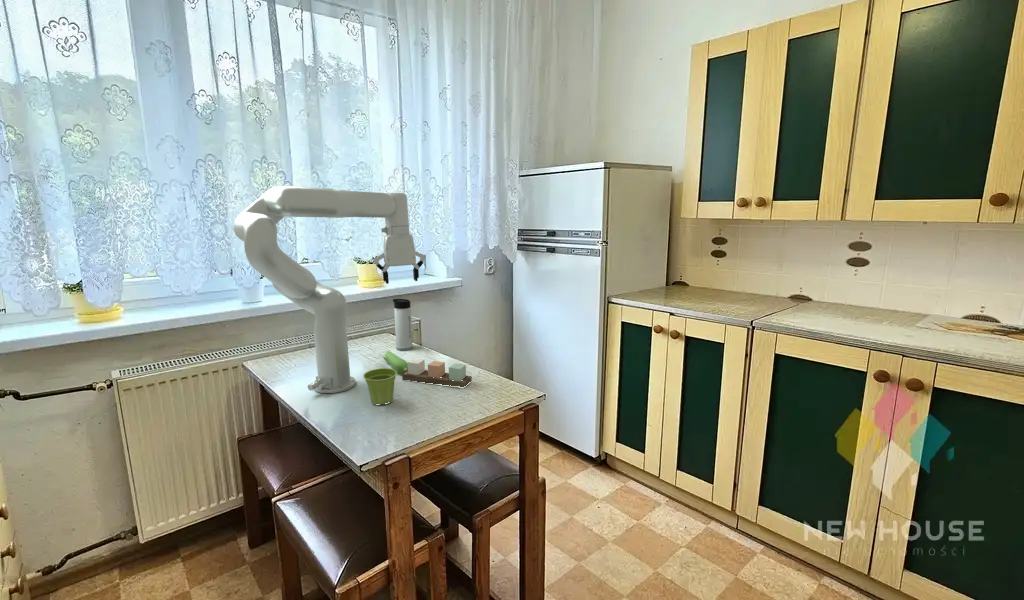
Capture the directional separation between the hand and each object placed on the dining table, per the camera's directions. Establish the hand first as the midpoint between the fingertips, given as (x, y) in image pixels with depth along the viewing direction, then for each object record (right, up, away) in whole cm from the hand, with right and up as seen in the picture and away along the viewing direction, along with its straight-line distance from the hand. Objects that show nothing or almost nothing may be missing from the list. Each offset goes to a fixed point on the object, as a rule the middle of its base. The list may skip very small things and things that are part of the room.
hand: (401, 281), depth 166 cm
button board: (+13, -33, -7) cm, 36 cm away
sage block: (+20, -31, -10) cm, 38 cm away
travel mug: (-5, -25, +26) cm, 37 cm away
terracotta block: (+13, -31, -7) cm, 34 cm away
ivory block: (+6, -30, -5) cm, 31 cm away
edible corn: (-3, -30, +6) cm, 31 cm away
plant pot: (-1, -36, -22) cm, 43 cm away
